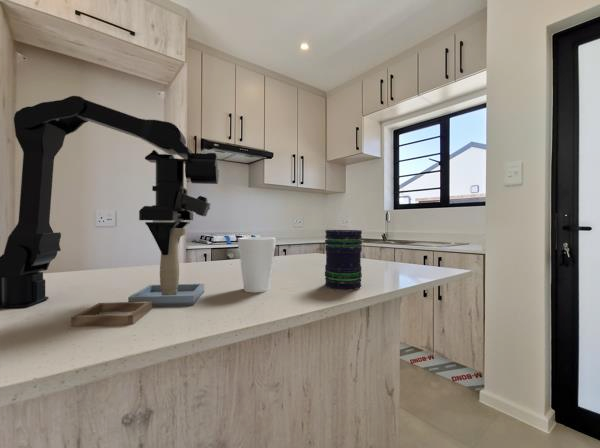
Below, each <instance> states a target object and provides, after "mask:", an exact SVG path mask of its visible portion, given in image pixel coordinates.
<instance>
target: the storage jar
mask: <svg viewBox="0 0 600 448" xmlns="http://www.w3.org/2000/svg"><path fill="white" fill-rule="evenodd" d="M362 234H363V233H362V230H361V229H360V230H357V229H325V239H324V244H325V246H324V247H325V248H324V249H325V259H326V260H325V261H326V263H325V265H324V267H325V268H324V270H325V271H324V277H325V278H324V279H325V283H324V286H325V287H326V288H327V289H328V288H329V289H331V290H337V289H338V290H339V291H350V290H349V289H355V290H357V289H356V288H359V289H360V287H361V288H362V275H363V273H362V266H361V265H362V264H361V261H362V260H361V259H362V257H361V253H362V250H363V248H362V245H363V240H362V239H363V238H362V237H363V236H362Z"/></svg>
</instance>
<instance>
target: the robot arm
mask: <svg viewBox="0 0 600 448" xmlns="http://www.w3.org/2000/svg"><path fill="white" fill-rule="evenodd" d="M88 122H90V123H93V124H97V125H99V126H101V127H106V128H108V129H110V130H114V131H117V132H120V133H124V134H126V135H129V136H132V137H135V138H138V139H141V140H142V141H144V142H146V143H148V144H150V145H151V146H153V147H155V148H157V149H158V150H161V151H162V152H165V153H164V154H163V153H159V152H158V151H157V150H155V149H152V151H151V152H149V154H147V155H146V156H145V157H144V159H145V160H146V161H147V162H149V163H153V164H154V163H155V185H152V186H151V187H152V188H151V189H152V192H155V205H154V204H153V205H143V207H142V208H140V209H139V211H138V219H139V220H138V221H145V222H144V224H145V225H146V226H147V228H148V230H149V231H150V233H151V235H152V237H153V239H154V241H155V242H156V245H157V247H158V248H159V251H160V254H161V253H162V255H168V253H169V248H170V242H171V236H172V230H173V229H174V228H186V227H187V226H188V225H189V224H190V223H191V222H190V221H193V220H194V213H195V215H198V216H202V217H207V215H208V212H209V210H210V209H211V207H210V206H211V203H210V202H208V198H207V197H206V196H202V195H198V197H197V198H196V197H193V196H190V195H188V189H186V188H185V187H184V185H185V184H184V183H185V179H184V178H186V179H187V180H188V179H189V180H190V183H191V184H197V185H198V184H199V185H200V184H202V185H203V184H205V185H218V184H219V178H220V177H219V174H220V173H219V168H218V155H217V154H216V153H215V152H207V153H199V152H195V153H194V152H193V151H192V150H191V149H190V148H189V147H187V145H186V144H187V140H186V137H185V135H184V134H183V132H182V131H181V130H180V128H178V126H177V125H175V124H174V123H172V122H169V121H165V120H159V119H145V118H140V117H136V116H133V115H130V114H127V113H126V112H122V111H119V110H116V109H113V108H111V107H108V106H104V105H102V104H99V103H96V102H93V101H91V100H87V99H85V98H83V97H82V96H80V95H79V96H78V95H71V96H68V97H65V98H62V99H58V100H51V101H44V102H40V103H37V104H35V105H32V106H24V107H22V108H20V109H19V110H16V112H15V113H14V114H13V126H14V134H15V138H16V140H17V142H18V144H19V146H20V148H21V150H22V165H21V166H22V168H21V180H20V195H19V208H18V222H17V224H16V225H15V226H14V228H13V230H12V231H11V233H10V234H9V235H8V237H7V240H6V244H5V247H4V251H3V254H2V255H0V309H1V308H6V309H7V308H27V307H30V306H33V305H36V304H39V303H40V302H44V301H46V300H48V299H49V296H46V280H45V278H44V272H45V271H47V270H48V269H49V266H50V265H51V262H52V261H54V260H55V259H56V258H57V255H58V252H61V251H62V250H61V247H60V242H61V238H62V234H61V232H54V231H53V228H52V226H51V225H50V221H51V219H50V218H51V203H52V190H53V177H54V165H55V163H54V162H55V157H56V156H57V155H58V153H59V152H60V150H61V149H62V147H63V145H64V141H65V138H66V136H68V135H70V134H73V133H75V132H76V131H77V130H78V129H80V128H81V127H82V126H83V125H84V124H86V123H88ZM174 155H175V156H176V155H177V156H179V157H181V158H175V156H174ZM180 239H181V237H179V238H178V245H179V243H180V241H181V240H180Z"/></svg>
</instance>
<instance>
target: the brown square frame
mask: <svg viewBox="0 0 600 448" xmlns="http://www.w3.org/2000/svg"><path fill="white" fill-rule="evenodd" d="M152 309H153V306H152V302H128V301H123V302H120V301H119V302H117V301H116V302H98V303H96V304H94V305H92V306H90V307H88V308H86V309H85V310H83V311H81V312H79V313H76V314H75V315H73V316H71V317H70V327H89V326H90V327H93V326H96V327H97V326H116V325H117V326H119V325H121V326H122V325H125V326H126V325H134V324H136V323H137V322H138V321H139V320H140V319H142V318H143V317H144V316H145V315H146V314H147V313H149V312H150V311H152ZM102 312H103V313H106V312H107V313H109V312H131V313H127V314H126V313H122V314H119V313H118V314H100V313H102Z"/></svg>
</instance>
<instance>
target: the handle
mask: <svg viewBox="0 0 600 448" xmlns="http://www.w3.org/2000/svg"><path fill="white" fill-rule="evenodd" d="M184 235H186V227H184V228H174V229H173V230H172V236H171V242H170V248H169V253H168V255H162V253H161V252H160V263H159V281H160V282H159V283H160V284H159V285H161V289H162V291H161V293H162V295H177V288H178V284H180V283H179V282H180V261H179V260H180V259H179V258H180V257H179V244H178V238H179V237H180V238H181V237H183V236H184Z"/></svg>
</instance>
